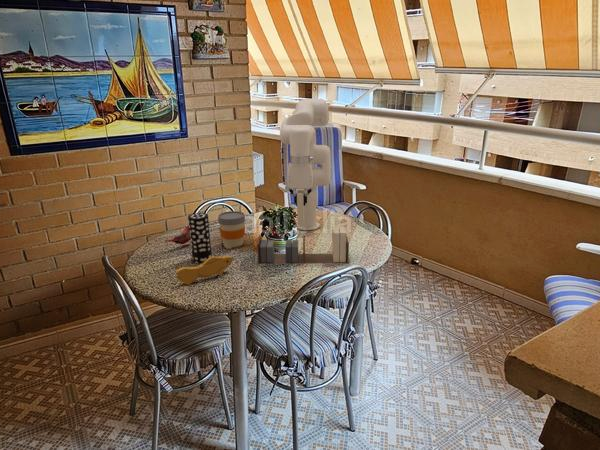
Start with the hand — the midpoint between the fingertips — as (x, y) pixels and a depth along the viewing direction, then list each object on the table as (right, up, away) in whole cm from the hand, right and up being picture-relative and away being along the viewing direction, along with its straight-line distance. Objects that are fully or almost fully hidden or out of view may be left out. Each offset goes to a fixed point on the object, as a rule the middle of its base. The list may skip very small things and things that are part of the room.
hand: (300, 204), depth 166 cm
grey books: (-9, -23, +8) cm, 26 cm away
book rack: (+1, -24, +8) cm, 25 cm away
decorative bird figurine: (-55, -19, +26) cm, 64 cm away
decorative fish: (-37, -30, -6) cm, 48 cm away
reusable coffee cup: (-31, -18, +27) cm, 45 cm away
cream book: (0, -7, +3) cm, 8 cm away
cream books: (+16, -23, +7) cm, 29 cm away
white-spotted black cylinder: (-43, -24, +12) cm, 50 cm away
